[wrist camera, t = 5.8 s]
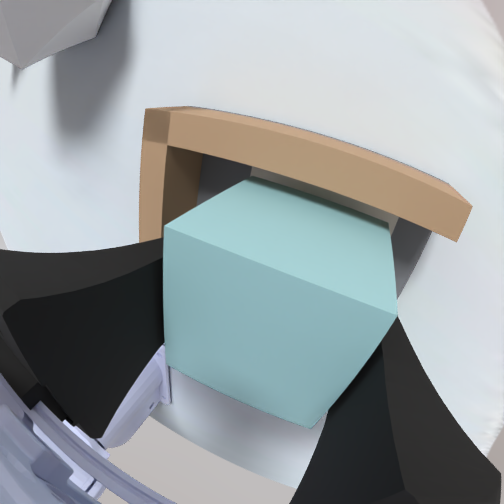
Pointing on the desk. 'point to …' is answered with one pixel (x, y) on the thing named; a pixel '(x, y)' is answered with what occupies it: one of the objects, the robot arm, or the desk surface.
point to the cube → (276, 296)
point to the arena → (287, 176)
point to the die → (46, 27)
